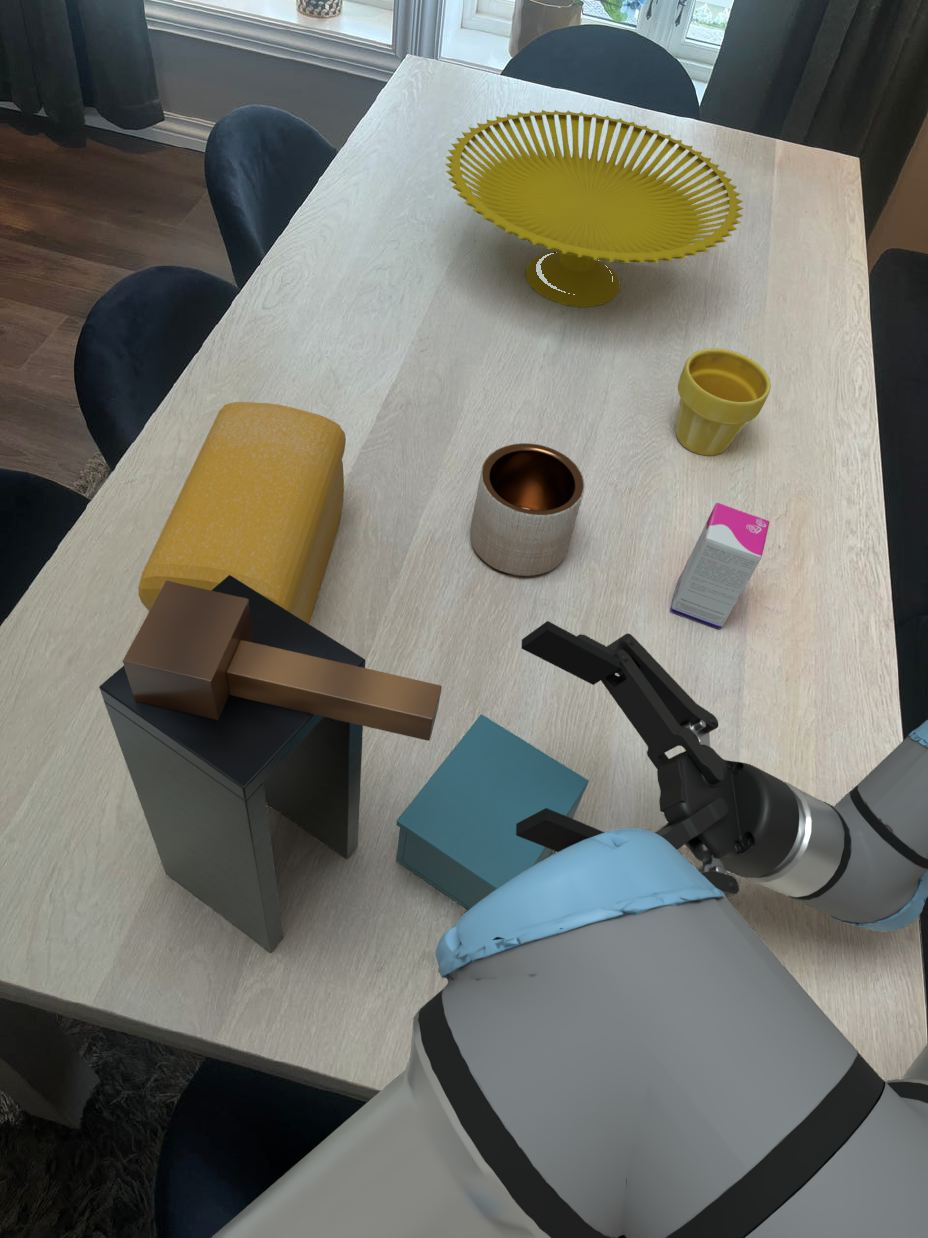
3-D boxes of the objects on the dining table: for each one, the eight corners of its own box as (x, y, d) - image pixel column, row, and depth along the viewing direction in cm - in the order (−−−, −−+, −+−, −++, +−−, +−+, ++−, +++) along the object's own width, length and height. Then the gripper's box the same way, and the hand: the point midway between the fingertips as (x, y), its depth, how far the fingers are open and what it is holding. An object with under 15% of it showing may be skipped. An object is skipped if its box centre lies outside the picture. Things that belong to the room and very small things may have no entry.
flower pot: (757, 439, 117) (787, 376, 109) (717, 479, 112) (745, 415, 104) (688, 400, 120) (712, 336, 113) (646, 436, 115) (668, 371, 107)
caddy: (500, 933, 75) (514, 896, 69) (395, 860, 77) (400, 819, 71) (568, 827, 81) (587, 785, 75) (469, 764, 84) (480, 718, 78)
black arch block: (271, 953, 72) (243, 789, 51) (165, 873, 75) (98, 686, 54) (358, 846, 78) (366, 659, 57) (257, 776, 81) (229, 573, 60)
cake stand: (376, 269, 131) (380, 163, 120) (545, 180, 153) (563, 83, 141) (608, 405, 118) (638, 301, 106) (757, 288, 139) (796, 190, 128)
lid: (510, 902, 68) (511, 898, 68) (395, 825, 71) (396, 820, 70) (587, 785, 75) (589, 780, 74) (480, 718, 78) (481, 713, 77)
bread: (230, 490, 102) (217, 378, 90) (346, 510, 102) (348, 401, 90) (154, 669, 86) (126, 562, 75) (290, 693, 86) (283, 590, 75)
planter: (448, 534, 101) (457, 469, 94) (518, 492, 106) (532, 428, 99) (518, 595, 97) (533, 532, 89) (587, 549, 102) (607, 485, 95)
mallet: (134, 701, 53) (122, 661, 50) (175, 622, 57) (165, 579, 54) (422, 768, 53) (428, 731, 49) (444, 683, 56) (451, 644, 53)
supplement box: (722, 631, 97) (762, 558, 88) (668, 612, 98) (701, 537, 89) (732, 593, 100) (771, 519, 91) (679, 574, 101) (713, 499, 92)
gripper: (741, 1020, 61) (486, 936, 52) (703, 704, 77) (502, 597, 68) (838, 996, 56) (576, 899, 47) (777, 664, 72) (571, 542, 63)
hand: (532, 721), depth 57 cm, fingers open, 13 cm apart
